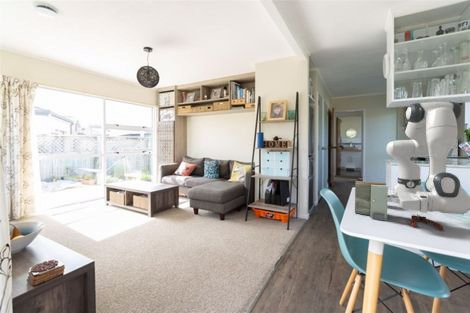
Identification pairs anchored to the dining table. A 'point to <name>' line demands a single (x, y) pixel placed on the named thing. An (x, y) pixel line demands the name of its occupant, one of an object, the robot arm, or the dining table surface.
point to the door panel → (379, 200)
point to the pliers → (423, 219)
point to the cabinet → (364, 196)
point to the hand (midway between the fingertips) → (386, 197)
